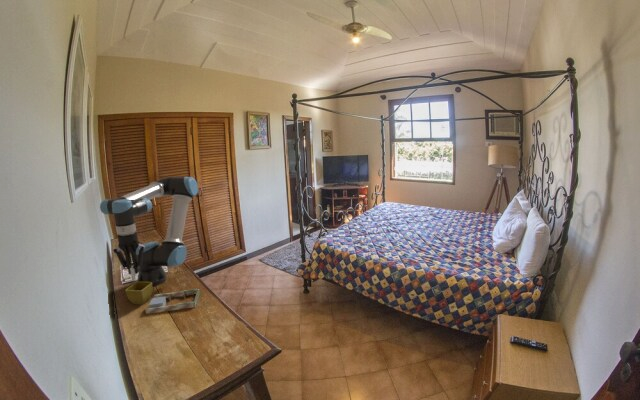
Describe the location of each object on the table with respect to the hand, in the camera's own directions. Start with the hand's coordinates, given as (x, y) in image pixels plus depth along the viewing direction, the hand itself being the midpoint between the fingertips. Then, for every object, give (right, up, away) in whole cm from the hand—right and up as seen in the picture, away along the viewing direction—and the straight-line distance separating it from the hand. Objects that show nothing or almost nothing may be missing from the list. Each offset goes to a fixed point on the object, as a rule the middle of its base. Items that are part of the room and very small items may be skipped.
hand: (135, 279), depth 137 cm
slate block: (+8, -16, +5) cm, 18 cm away
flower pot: (-3, -15, +11) cm, 18 cm away
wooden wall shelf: (+15, -14, +9) cm, 22 cm away
